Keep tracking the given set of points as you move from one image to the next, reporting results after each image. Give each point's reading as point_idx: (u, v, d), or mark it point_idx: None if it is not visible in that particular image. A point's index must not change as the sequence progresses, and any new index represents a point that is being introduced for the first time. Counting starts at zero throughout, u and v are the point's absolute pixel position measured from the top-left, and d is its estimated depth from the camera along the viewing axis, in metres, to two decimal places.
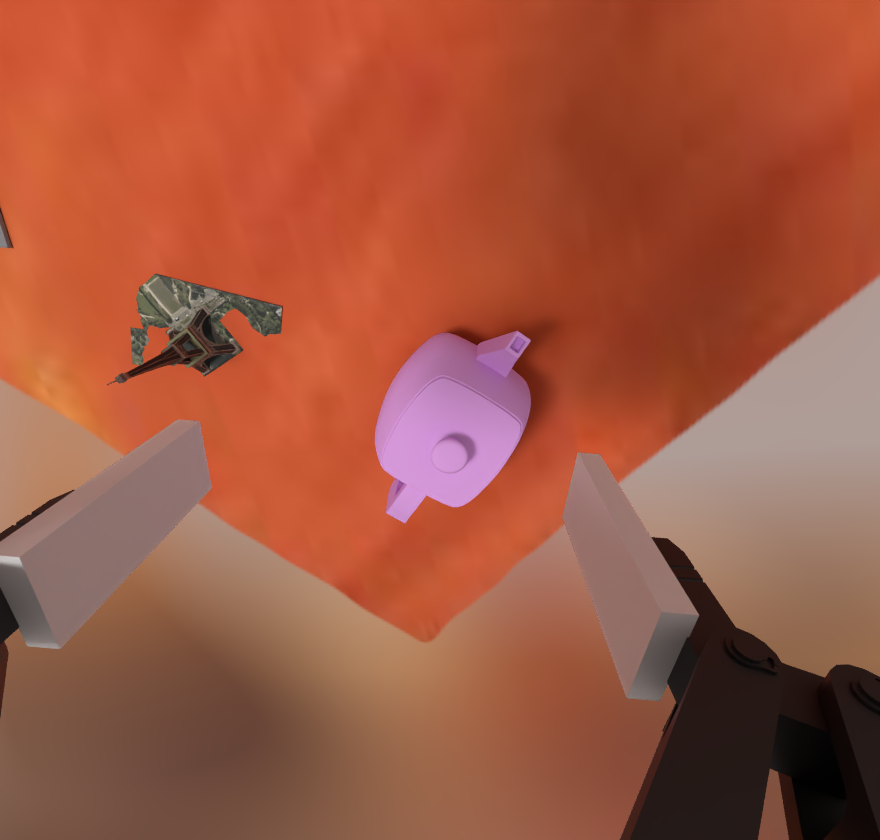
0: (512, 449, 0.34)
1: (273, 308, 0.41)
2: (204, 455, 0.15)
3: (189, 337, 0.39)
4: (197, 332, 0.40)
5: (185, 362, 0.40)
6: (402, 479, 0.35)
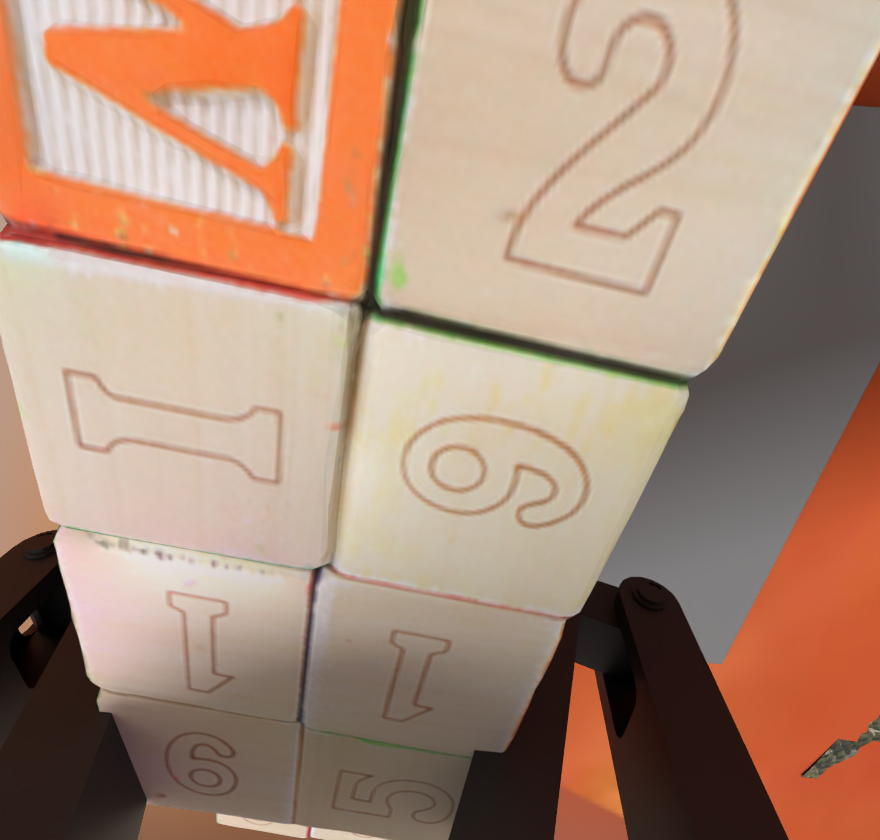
0: None
1: None
2: None
3: None
4: None
5: None
6: None
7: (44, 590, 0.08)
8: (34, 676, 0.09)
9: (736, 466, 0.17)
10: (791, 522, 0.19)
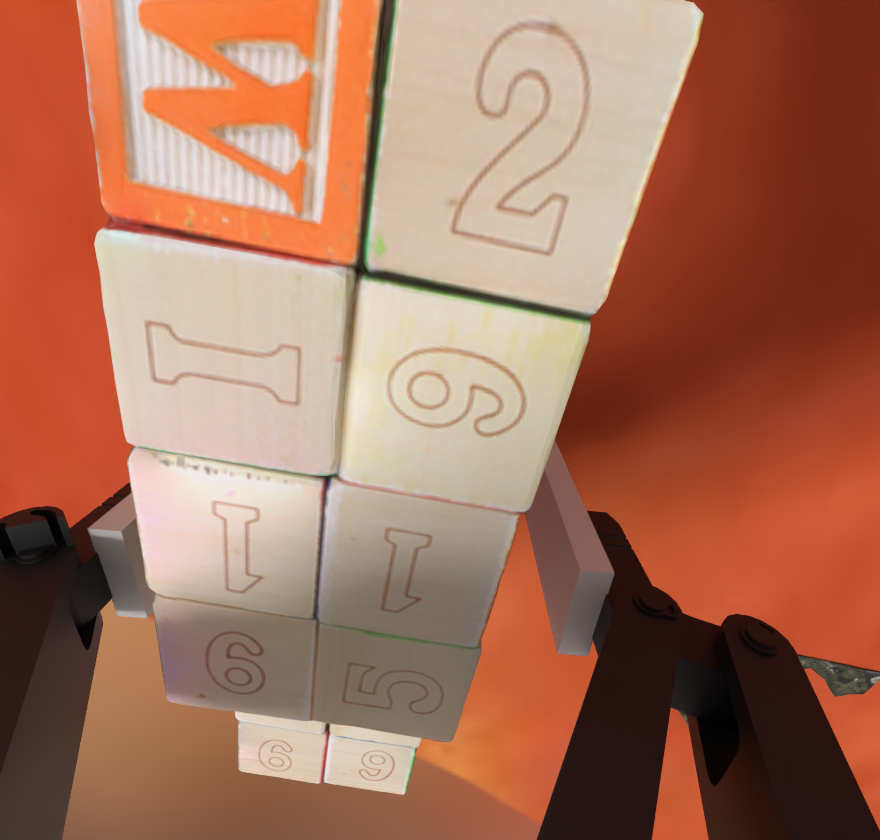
0: None
1: (869, 675, 0.26)
2: None
3: None
4: None
5: None
6: None
7: None
8: None
9: None
10: None
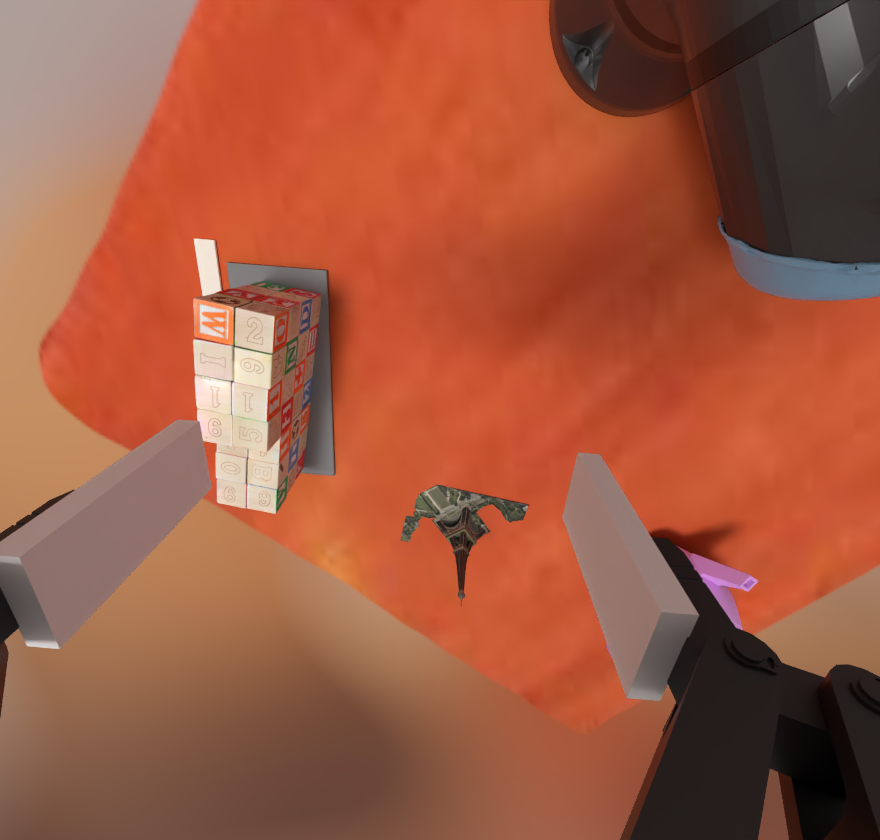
0: None
1: (521, 506, 0.53)
2: (204, 455, 0.15)
3: (465, 535, 0.52)
4: (468, 528, 0.53)
5: None
6: None
7: None
8: None
9: None
10: (330, 406, 0.48)
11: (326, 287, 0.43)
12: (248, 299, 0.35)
